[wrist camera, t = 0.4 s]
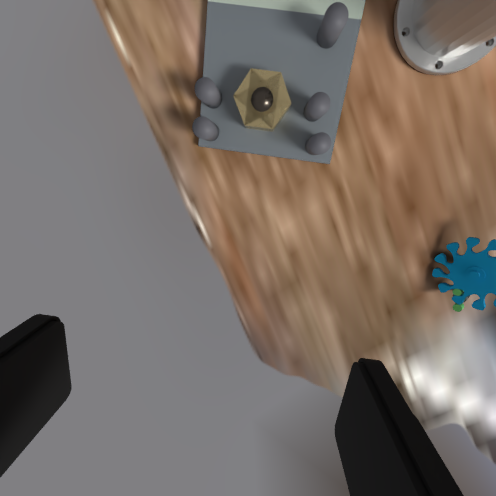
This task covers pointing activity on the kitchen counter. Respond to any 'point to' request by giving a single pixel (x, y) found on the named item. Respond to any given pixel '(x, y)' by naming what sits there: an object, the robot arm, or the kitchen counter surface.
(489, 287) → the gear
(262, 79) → the nut
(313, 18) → the spacer board
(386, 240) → the kitchen counter surface
